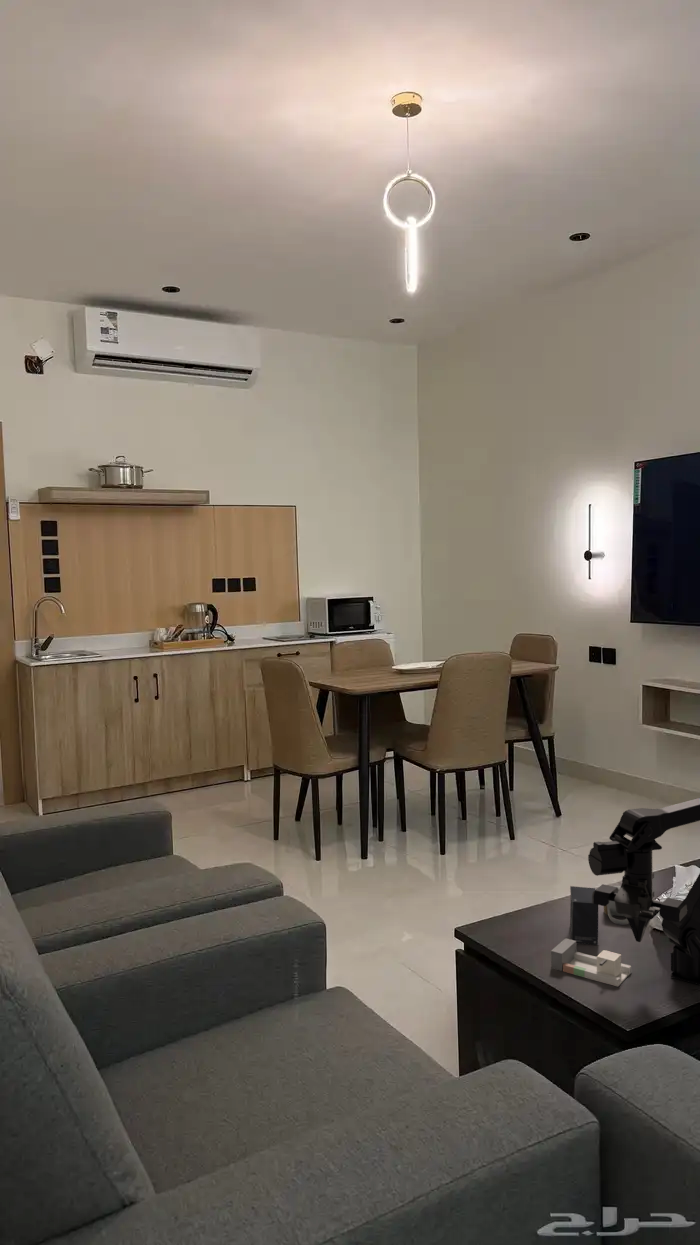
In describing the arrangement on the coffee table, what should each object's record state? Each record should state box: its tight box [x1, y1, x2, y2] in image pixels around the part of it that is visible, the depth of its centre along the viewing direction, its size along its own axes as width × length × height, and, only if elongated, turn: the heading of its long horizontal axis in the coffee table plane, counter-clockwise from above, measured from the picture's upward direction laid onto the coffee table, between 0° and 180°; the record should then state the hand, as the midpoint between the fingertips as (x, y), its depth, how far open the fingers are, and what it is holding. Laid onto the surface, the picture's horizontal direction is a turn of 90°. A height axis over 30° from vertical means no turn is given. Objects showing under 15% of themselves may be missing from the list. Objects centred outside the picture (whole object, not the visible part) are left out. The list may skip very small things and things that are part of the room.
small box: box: [569, 885, 599, 946], centre depth 212 cm, size 11×6×10 cm, turn 168°
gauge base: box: [550, 937, 632, 988], centre depth 194 cm, size 15×8×4 cm, turn 53°
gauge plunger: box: [596, 949, 622, 977], centre depth 191 cm, size 4×7×4 cm, turn 143°
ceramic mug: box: [603, 885, 629, 926], centre depth 223 cm, size 11×8×8 cm
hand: (638, 941), depth 187 cm, fingers closed
